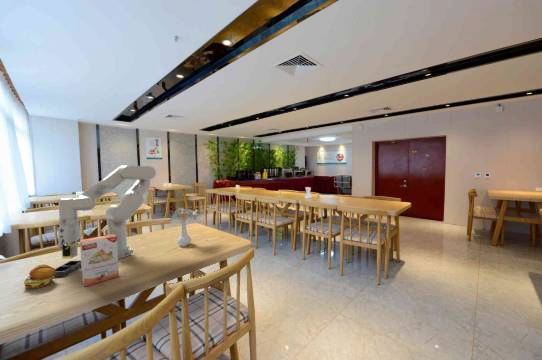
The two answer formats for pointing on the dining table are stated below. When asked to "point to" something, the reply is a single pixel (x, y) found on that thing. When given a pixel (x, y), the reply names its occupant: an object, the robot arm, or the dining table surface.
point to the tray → (67, 268)
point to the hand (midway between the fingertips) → (70, 254)
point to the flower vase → (184, 225)
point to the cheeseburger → (40, 276)
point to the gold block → (71, 251)
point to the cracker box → (99, 259)
